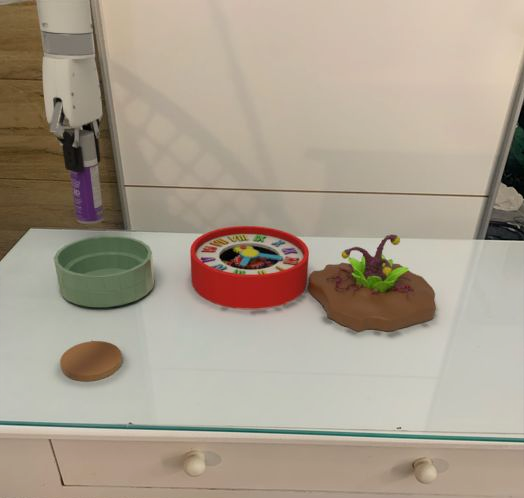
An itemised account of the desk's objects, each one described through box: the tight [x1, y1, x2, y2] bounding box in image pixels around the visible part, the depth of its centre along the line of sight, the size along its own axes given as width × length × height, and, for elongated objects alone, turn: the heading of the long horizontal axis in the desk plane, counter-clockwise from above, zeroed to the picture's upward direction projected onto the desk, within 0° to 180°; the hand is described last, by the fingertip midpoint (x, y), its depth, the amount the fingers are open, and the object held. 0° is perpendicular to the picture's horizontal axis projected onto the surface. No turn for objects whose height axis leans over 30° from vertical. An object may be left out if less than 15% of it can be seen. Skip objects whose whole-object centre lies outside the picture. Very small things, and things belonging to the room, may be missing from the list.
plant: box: [307, 234, 437, 332], centre depth 90 cm, size 20×20×11 cm
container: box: [67, 129, 104, 225], centre depth 96 cm, size 5×5×15 cm
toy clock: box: [189, 225, 310, 310], centre depth 95 cm, size 20×6×20 cm
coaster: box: [59, 340, 123, 382], centre depth 75 cm, size 8×8×1 cm
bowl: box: [53, 235, 155, 308], centre depth 91 cm, size 15×15×6 cm
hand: (83, 164), depth 95 cm, fingers closed on container, 4 cm apart
